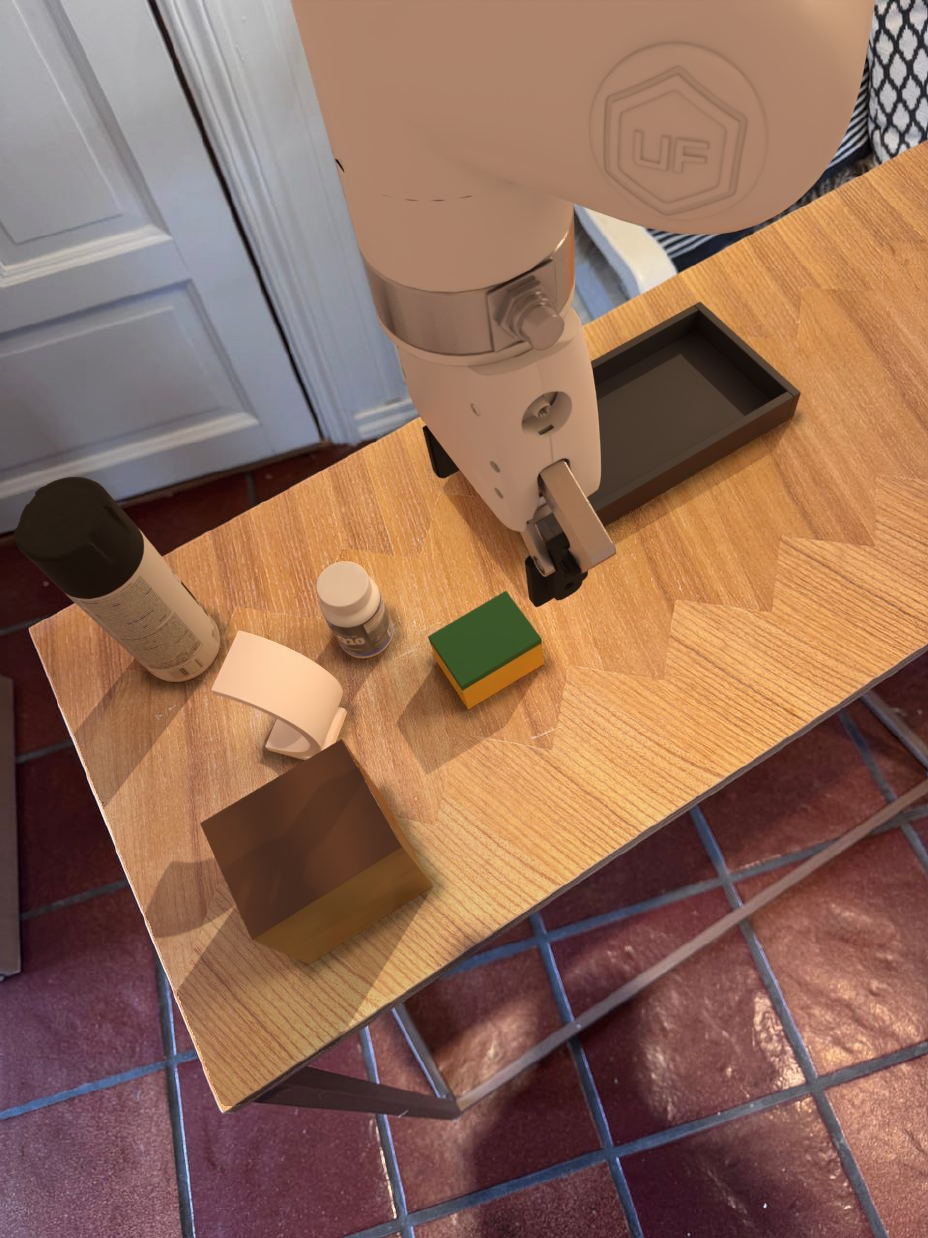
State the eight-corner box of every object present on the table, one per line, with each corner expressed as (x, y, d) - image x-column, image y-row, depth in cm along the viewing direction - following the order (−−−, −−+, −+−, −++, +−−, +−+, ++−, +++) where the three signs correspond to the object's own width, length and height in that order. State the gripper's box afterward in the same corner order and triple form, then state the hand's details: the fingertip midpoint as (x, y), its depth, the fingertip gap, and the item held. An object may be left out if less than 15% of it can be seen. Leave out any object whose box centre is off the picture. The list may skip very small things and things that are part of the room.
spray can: (235, 621, 75) (127, 479, 57) (204, 693, 72) (80, 568, 54) (166, 607, 76) (40, 464, 59) (132, 677, 74) (-10, 550, 56)
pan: (696, 326, 84) (700, 300, 81) (793, 416, 77) (801, 392, 75) (465, 454, 80) (461, 432, 77) (548, 560, 74) (546, 540, 71)
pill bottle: (327, 645, 73) (297, 595, 65) (358, 599, 74) (333, 546, 67) (374, 669, 71) (350, 621, 64) (405, 622, 73) (385, 570, 65)
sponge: (510, 617, 72) (506, 590, 68) (544, 663, 69) (541, 638, 66) (436, 661, 71) (427, 636, 67) (468, 710, 68) (461, 687, 65)
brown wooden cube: (381, 793, 66) (342, 738, 56) (433, 886, 63) (402, 846, 52) (262, 865, 65) (199, 823, 54) (309, 965, 61) (251, 940, 51)
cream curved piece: (290, 697, 71) (238, 629, 60) (359, 715, 69) (319, 649, 59) (267, 750, 69) (210, 690, 58) (338, 770, 67) (292, 711, 57)
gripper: (706, 355, 28) (665, 607, 44) (440, 103, 36) (483, 390, 51) (508, 466, 27) (536, 685, 42) (278, 182, 35) (371, 451, 50)
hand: (507, 523), depth 47 cm, fingers open, 9 cm apart
